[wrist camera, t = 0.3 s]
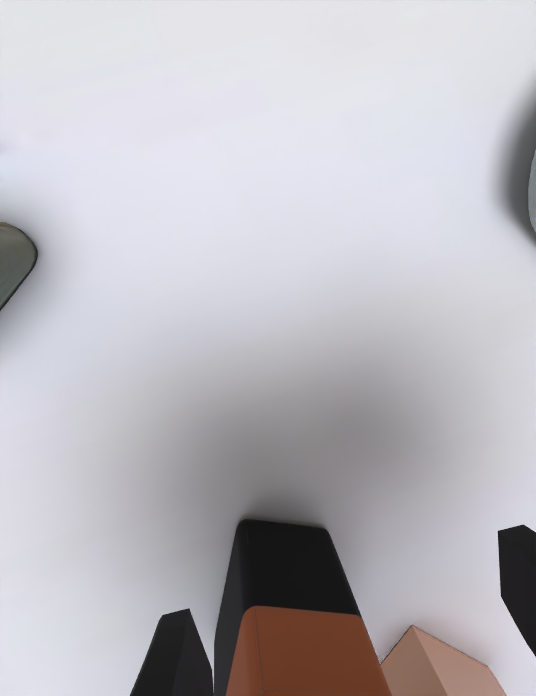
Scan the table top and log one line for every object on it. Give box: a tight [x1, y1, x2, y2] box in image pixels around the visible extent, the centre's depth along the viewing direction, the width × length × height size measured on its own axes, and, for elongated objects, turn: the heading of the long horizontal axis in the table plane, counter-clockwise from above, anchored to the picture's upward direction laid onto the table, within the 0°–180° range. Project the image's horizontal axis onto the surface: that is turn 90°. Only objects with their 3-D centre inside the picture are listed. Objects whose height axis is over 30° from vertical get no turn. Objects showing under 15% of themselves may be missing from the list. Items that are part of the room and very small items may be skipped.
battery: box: [214, 519, 392, 696], centre depth 18 cm, size 4×7×10 cm, turn 169°
